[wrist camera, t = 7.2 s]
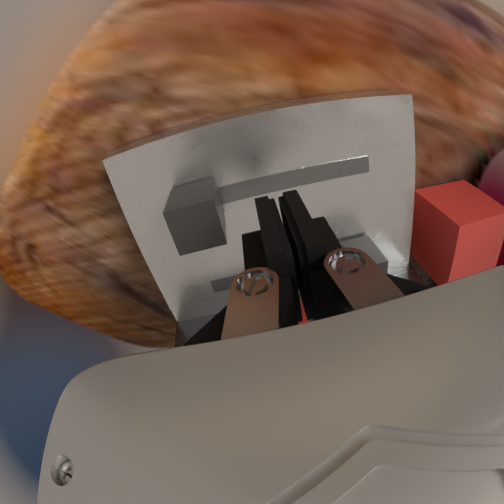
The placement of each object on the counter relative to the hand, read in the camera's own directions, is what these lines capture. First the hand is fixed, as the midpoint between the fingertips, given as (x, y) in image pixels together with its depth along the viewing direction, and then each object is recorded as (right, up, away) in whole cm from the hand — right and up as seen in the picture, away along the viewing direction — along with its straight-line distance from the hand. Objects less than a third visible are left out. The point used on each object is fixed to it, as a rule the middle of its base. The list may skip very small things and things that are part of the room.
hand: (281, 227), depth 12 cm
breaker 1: (-4, +2, +4) cm, 6 cm away
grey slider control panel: (+1, +2, +9) cm, 9 cm away
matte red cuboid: (+15, +2, +10) cm, 18 cm away
